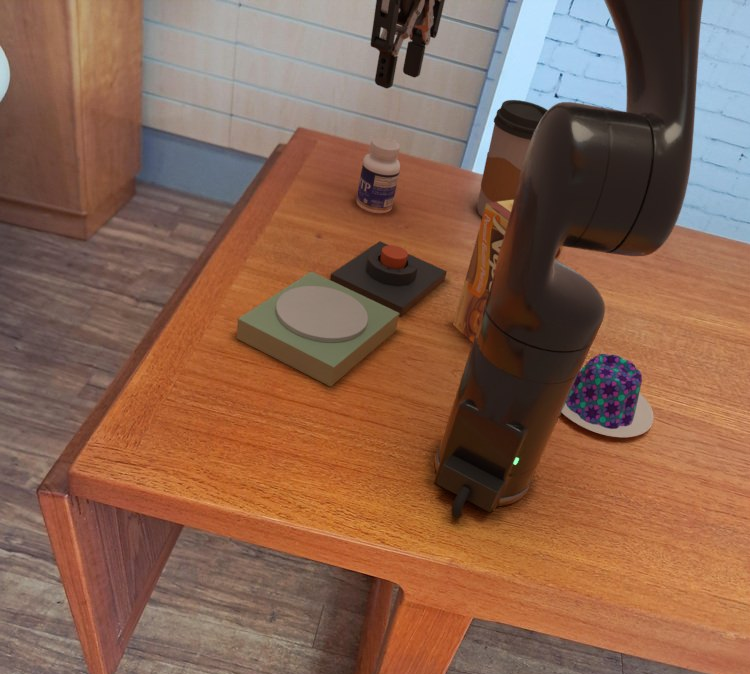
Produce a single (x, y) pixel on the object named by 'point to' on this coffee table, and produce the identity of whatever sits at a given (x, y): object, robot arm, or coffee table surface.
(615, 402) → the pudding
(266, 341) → the scale
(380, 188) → the pill bottle
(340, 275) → the block
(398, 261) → the button
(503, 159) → the coffee cup
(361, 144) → the coffee table surface
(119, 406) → the coffee table surface
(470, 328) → the candy box
